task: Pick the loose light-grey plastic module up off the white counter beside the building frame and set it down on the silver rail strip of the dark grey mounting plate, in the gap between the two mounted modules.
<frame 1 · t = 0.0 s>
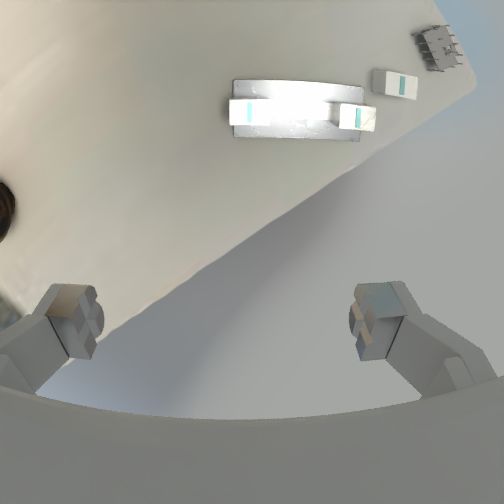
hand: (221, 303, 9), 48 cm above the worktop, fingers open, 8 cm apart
building frame: (429, 48, 43), on the worktop
rail plate: (299, 109, 50), on the worktop
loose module: (387, 83, 47), on the worktop
ceramic jug: (1, 203, 57), on the worktop
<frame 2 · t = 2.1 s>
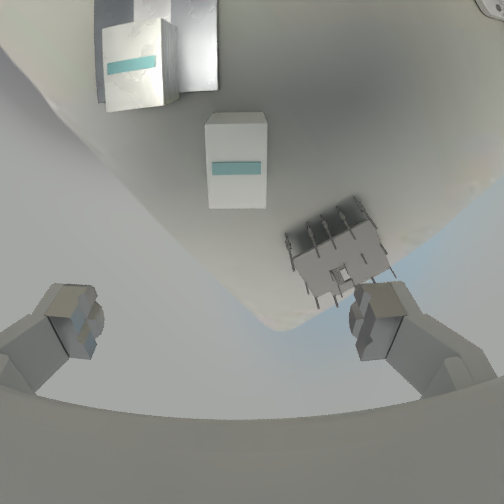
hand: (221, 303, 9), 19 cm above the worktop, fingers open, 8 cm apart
building frame: (332, 237, 31), on the worktop
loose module: (238, 146, 26), on the worktop
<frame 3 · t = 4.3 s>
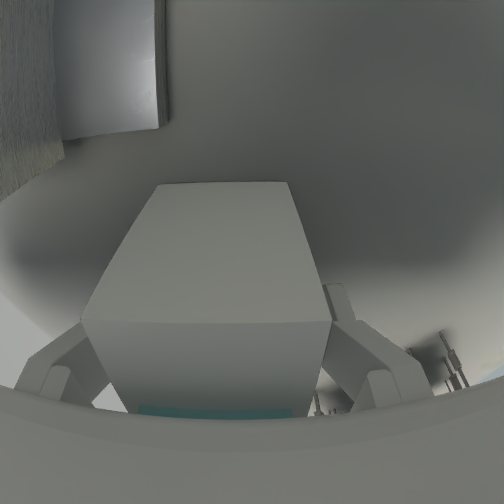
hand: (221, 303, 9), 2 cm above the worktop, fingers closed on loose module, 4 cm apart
building frame: (387, 383, 17), on the worktop
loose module: (225, 263, 11), on the worktop, touching gripper
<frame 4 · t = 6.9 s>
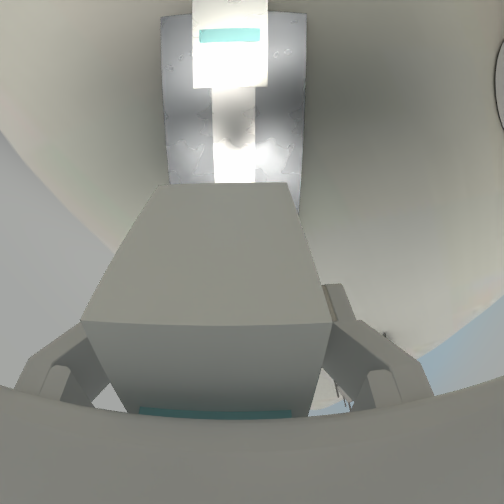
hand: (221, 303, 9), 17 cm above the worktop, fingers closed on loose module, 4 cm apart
rail plate: (234, 153, 24), on the worktop
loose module: (225, 264, 11), point 15 cm above the worktop, touching gripper
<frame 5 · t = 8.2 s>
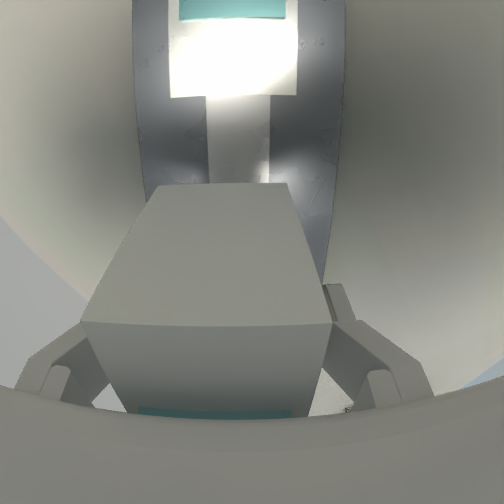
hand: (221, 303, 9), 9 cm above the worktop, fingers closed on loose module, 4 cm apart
rail plate: (239, 185, 17), on the worktop
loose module: (225, 264, 11), point 7 cm above the worktop, touching gripper
when the fingers open (5 cm above the worktop, at t = 9.4 s): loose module drops 1 cm, resting on rail plate.
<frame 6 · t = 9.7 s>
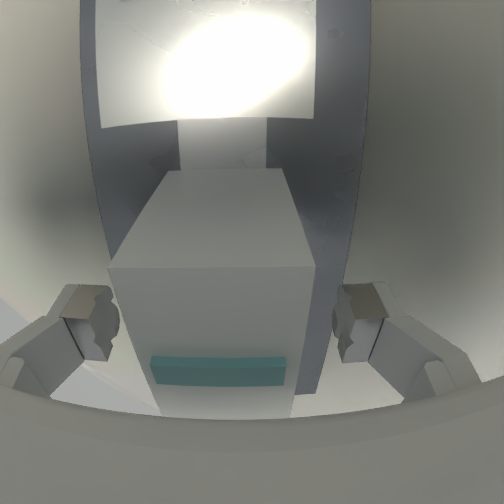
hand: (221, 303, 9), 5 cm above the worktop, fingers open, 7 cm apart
rail plate: (227, 227, 14), on the worktop
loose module: (227, 242, 13), point 1 cm above the worktop, touching rail plate
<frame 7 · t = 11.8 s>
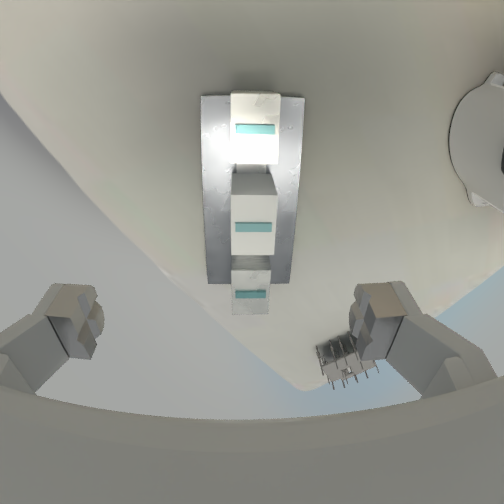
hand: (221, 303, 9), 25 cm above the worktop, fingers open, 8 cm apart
building frame: (343, 345, 49), on the worktop
rail plate: (250, 195, 35), on the worktop
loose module: (251, 200, 34), point 1 cm above the worktop, touching rail plate
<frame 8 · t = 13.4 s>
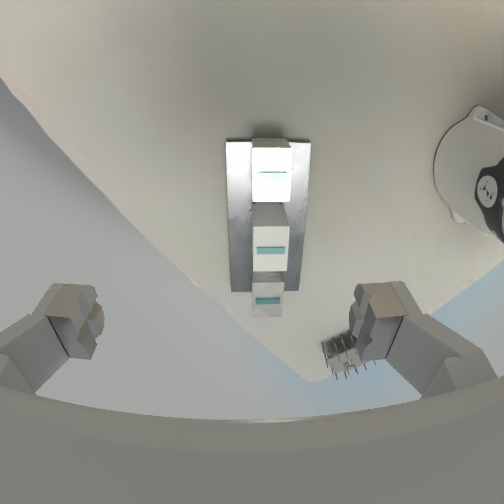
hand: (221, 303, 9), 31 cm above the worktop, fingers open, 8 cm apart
building frame: (345, 341, 57), on the worktop
rail plate: (266, 221, 43), on the worktop
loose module: (267, 225, 42), point 1 cm above the worktop, touching rail plate
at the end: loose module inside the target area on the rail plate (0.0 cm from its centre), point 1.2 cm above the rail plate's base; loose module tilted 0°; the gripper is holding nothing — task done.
